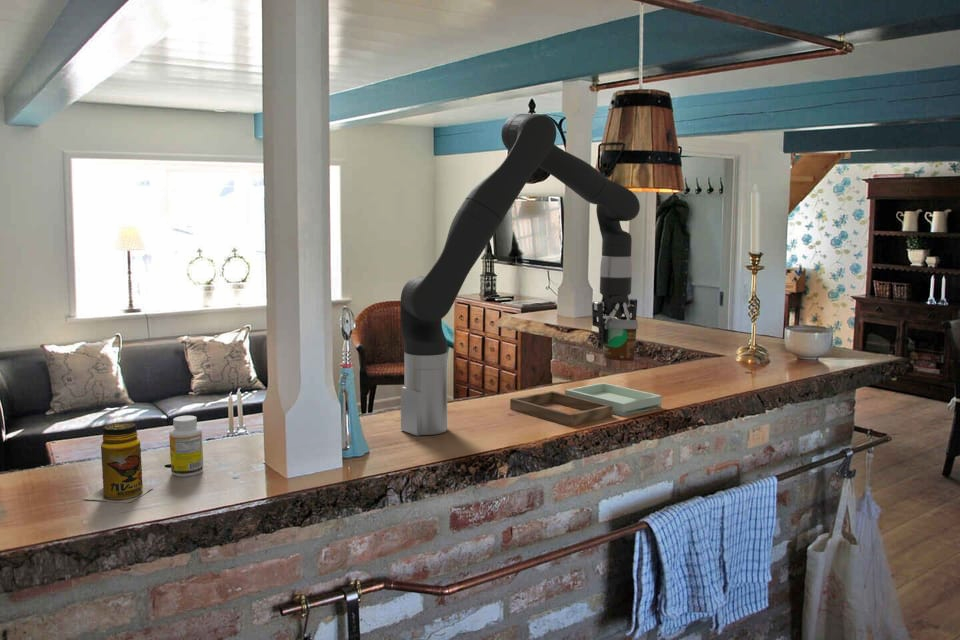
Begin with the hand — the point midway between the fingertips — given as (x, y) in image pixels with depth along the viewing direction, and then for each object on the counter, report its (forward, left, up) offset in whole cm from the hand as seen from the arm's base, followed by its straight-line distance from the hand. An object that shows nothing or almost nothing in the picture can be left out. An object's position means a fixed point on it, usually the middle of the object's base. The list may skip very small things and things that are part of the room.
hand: (613, 342), depth 203 cm
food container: (0, 0, -4) cm, 4 cm away
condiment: (-114, +8, -16) cm, 115 cm away
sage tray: (0, 0, -16) cm, 16 cm away
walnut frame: (-16, +2, -16) cm, 22 cm away
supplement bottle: (-101, +12, -16) cm, 103 cm away
